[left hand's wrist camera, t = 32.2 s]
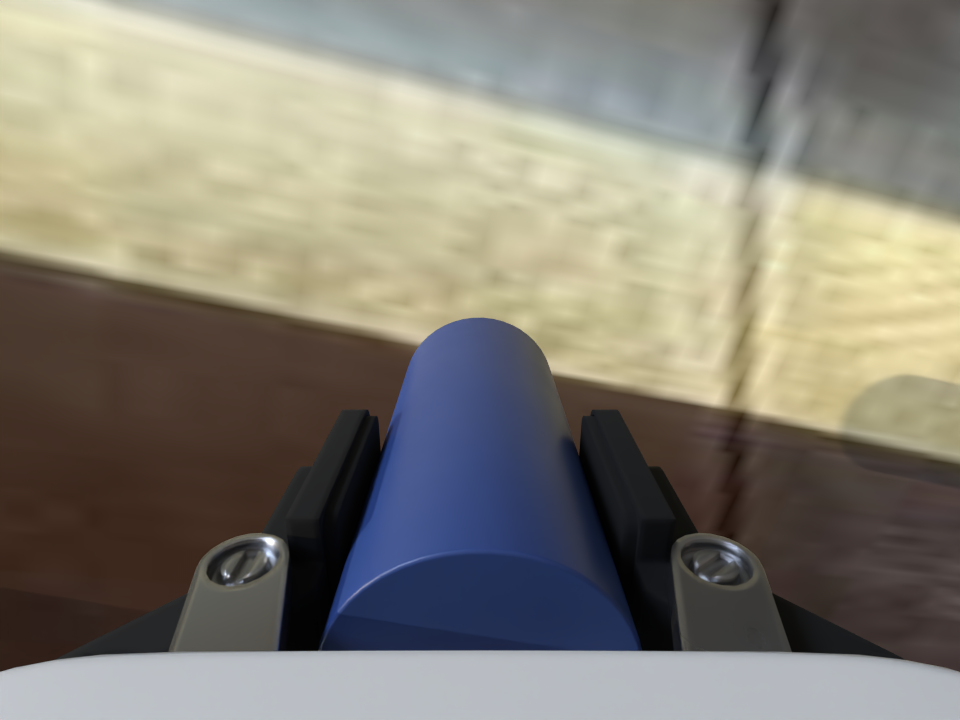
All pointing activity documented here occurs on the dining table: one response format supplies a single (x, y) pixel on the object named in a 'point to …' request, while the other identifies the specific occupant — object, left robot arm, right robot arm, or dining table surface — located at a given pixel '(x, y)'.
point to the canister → (479, 514)
